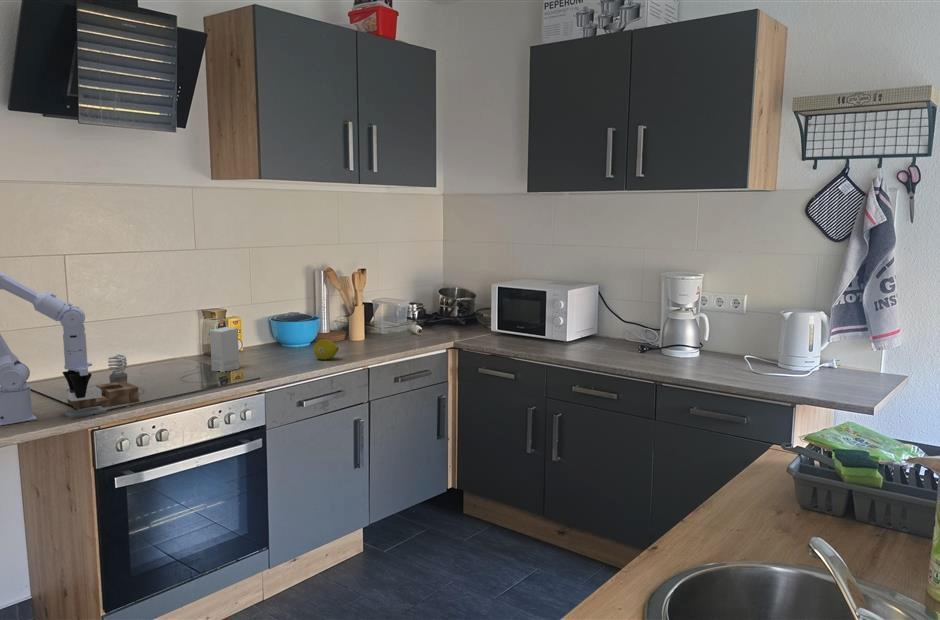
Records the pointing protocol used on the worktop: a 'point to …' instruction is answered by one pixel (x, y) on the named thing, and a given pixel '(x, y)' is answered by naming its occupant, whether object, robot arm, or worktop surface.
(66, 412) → the slate mat
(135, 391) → the pocket board
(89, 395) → the aluminium tile
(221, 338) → the skincare box
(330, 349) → the lemon
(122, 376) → the light bulb
